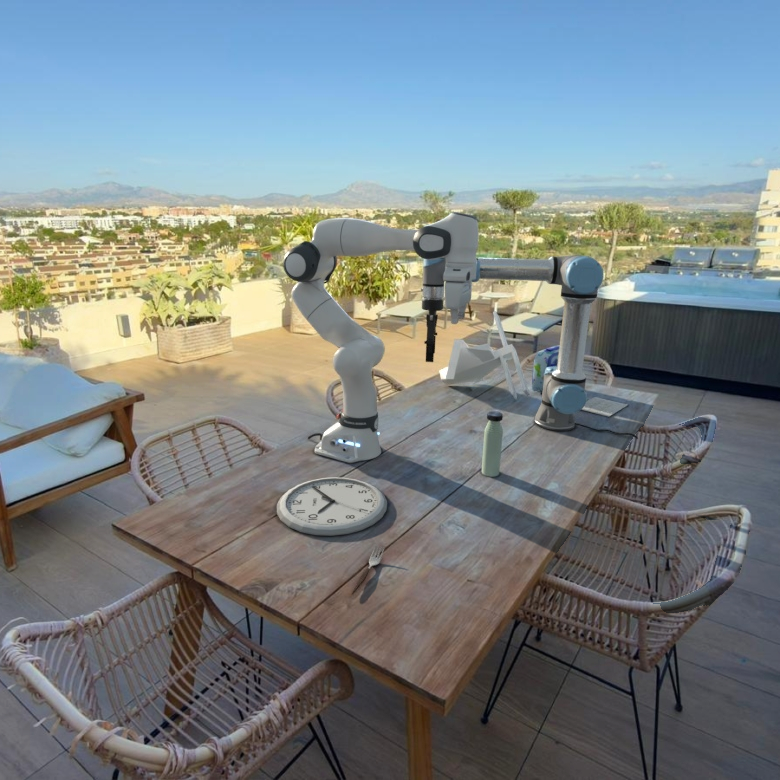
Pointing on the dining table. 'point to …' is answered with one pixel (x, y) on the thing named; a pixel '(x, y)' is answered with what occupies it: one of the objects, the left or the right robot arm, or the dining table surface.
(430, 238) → the left robot arm
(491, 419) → the cap
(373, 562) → the fork
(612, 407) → the invitation card
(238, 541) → the dining table surface
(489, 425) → the bottle
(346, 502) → the wall clock
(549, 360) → the lunch box
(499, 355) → the white plastic object
